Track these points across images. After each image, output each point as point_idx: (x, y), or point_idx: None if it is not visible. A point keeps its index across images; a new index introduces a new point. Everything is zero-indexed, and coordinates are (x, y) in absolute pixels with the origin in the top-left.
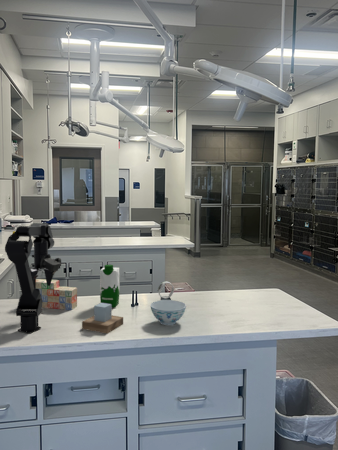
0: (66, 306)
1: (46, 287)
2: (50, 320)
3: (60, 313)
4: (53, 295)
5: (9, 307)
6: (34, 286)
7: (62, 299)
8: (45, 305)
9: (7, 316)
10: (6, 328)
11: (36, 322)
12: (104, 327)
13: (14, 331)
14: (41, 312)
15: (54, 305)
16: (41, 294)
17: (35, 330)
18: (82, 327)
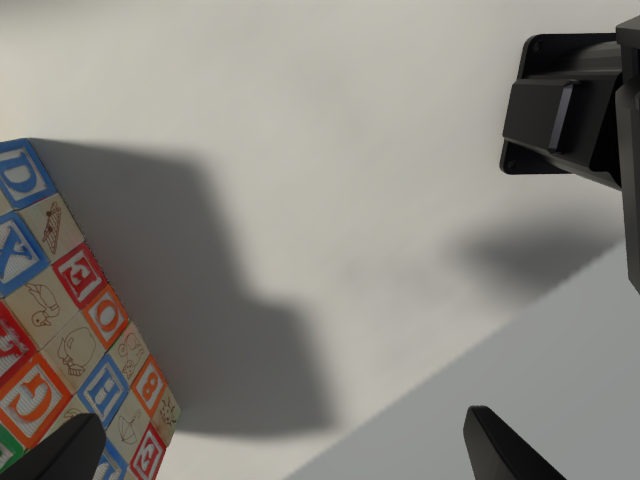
0: (33, 192)
1: None
2: (327, 113)
3: (153, 161)
4: (36, 354)
5: (259, 472)
6: (561, 478)
7: (7, 252)
8: (130, 344)
9: (382, 394)
10: (571, 266)
11: (615, 44)
12: None
13: None
14: (616, 27)
15: (90, 290)
16: None
17: (602, 33)
18: None
